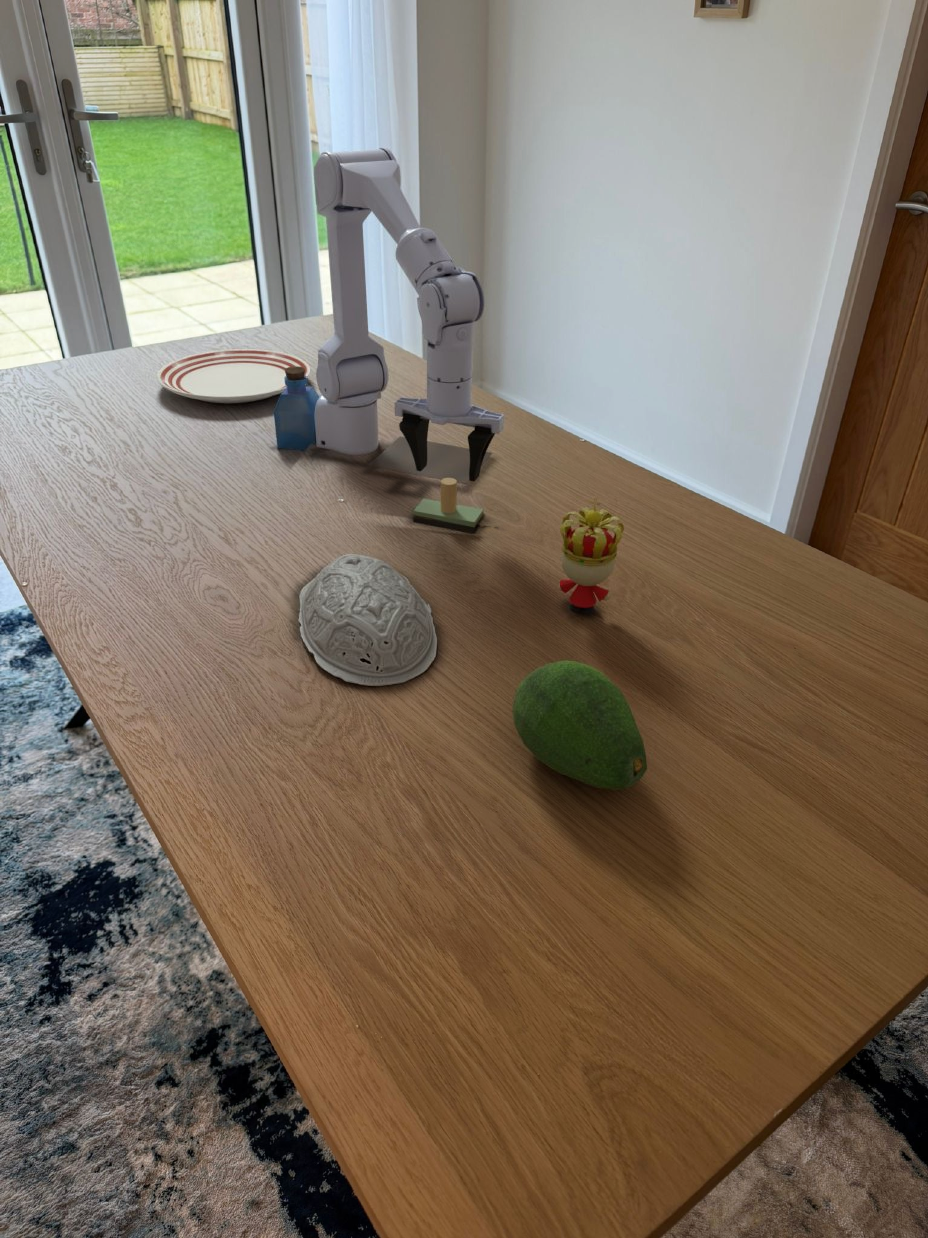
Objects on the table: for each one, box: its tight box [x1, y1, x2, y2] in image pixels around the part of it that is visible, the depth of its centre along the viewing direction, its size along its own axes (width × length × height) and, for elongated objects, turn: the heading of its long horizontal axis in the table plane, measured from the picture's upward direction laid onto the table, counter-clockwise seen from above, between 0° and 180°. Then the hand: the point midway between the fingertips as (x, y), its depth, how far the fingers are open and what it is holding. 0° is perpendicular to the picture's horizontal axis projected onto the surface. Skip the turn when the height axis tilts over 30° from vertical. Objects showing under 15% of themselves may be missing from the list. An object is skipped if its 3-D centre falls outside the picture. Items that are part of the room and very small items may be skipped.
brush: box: [412, 478, 485, 534], centre depth 123 cm, size 9×4×6 cm, turn 71°
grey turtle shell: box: [298, 553, 438, 687], centre depth 103 cm, size 16×25×7 cm, turn 16°
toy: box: [557, 497, 625, 616], centre depth 103 cm, size 7×7×15 cm
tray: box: [368, 435, 493, 485], centre depth 139 cm, size 16×12×1 cm
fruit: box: [511, 659, 648, 791], centre depth 83 cm, size 15×10×10 cm, turn 28°
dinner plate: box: [156, 348, 311, 404], centre depth 165 cm, size 27×27×3 cm
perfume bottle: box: [273, 366, 320, 451], centre depth 143 cm, size 6×6×12 cm
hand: (447, 473), depth 121 cm, fingers open, 7 cm apart
